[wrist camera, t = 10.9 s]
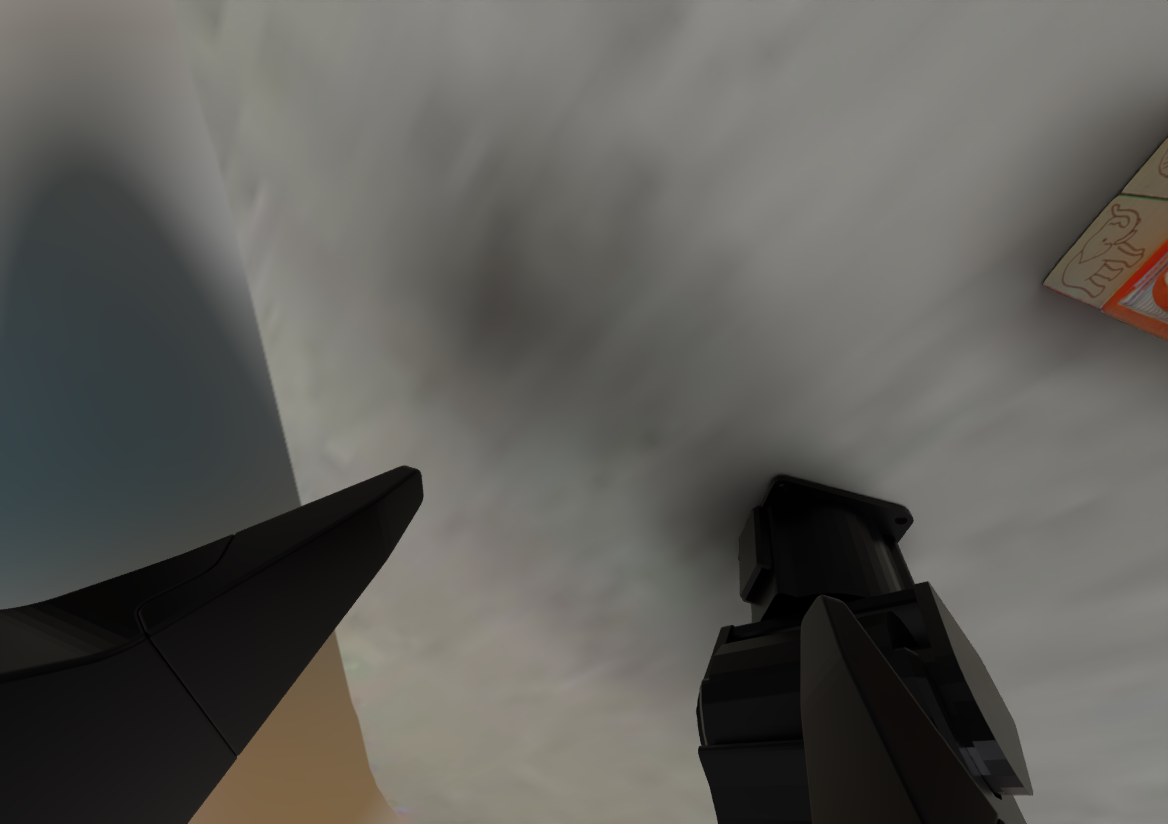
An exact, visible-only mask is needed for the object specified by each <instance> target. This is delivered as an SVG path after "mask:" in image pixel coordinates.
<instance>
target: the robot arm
mask: <svg viewBox="0 0 1168 824" xmlns="http://www.w3.org/2000/svg"><path fill="white" fill-rule="evenodd" d="M781 484H785V485H787V486H786V487H779V485H781ZM422 501H423V484H422V475H421V472H420V471H419V470H418V469H415V468H412V467H409V466H400V467H397V468H395V469H393V470H390V471H388V472H385V473H383V474H380V475H378V476H375V477H373V478H370V479H368V480H365V481H363V482H360V483H358V484H355V485H353V486H350V487H348V488H345V489H343V490H341V491H338V492H336V493H333V494H331V495H328V496H326V497H323V498H321V499H318V500H316V501H313V502H311V503H308V504H306V505H303V506H301V507H298V508H296V509H294V510H291V511H289V512H286V513H284V514H281V515H279V516H276V517H274V518H271V519H269V520H266V521H264V522H261V523H259V524H257V525H254V526H252V527H249V528H247V529H244V530H241V531H239V532H237V533H236V534H235V535H234V534H231V535H229V536H227V537H224V538H221V539H219V540H216V541H214V542H212V543H209V544H206V545H204V546H201V547H199V548H196V549H193V550H191V551H188V552H186V553H184V554H181V555H178V556H175V557H172V558H169V559H167V560H164V561H161V562H158V563H155V564H152V565H150V566H147V567H144V568H141V569H138V570H135V571H133V572H129V573H127V574H124V575H121V576H118V577H115V578H112V579H109V580H106V581H103V582H100V583H97V584H94V585H91V586H88V587H85V588H82V589H79V590H76V591H74V592H70V593H68V594H65V595H62V596H59V597H56V598H53V599H49V600H46V601H42V602H38V603H34V604H30V605H26V606H21V607H16V608H9V609H1V610H0V824H188V822H189V821H190V820H191V818H192V817H193V816H194V814H195V813H196V812H197V810H198V809H199V808H200V807H201V805H202V804H203V802H204V801H205V800H206V799H207V797H208V796H209V795H210V793H211V792H212V791H213V789H214V788H215V787H216V785H217V784H218V783H219V782H220V780H221V779H222V777H223V776H224V775H225V774H226V772H227V771H228V770H229V768H230V767H231V766H232V764H233V763H234V762H235V760H236V759H237V756H238V755H240V753H241V752H242V751H243V749H244V748H245V747H246V745H247V744H248V743H249V741H250V740H251V739H252V737H253V736H254V735H255V734H256V732H257V731H258V730H259V728H260V727H261V726H262V724H263V723H264V722H265V720H266V719H267V718H268V716H269V715H270V714H271V712H272V711H273V710H274V709H275V707H276V706H277V705H278V703H279V702H280V701H281V699H282V698H283V697H284V695H285V694H286V693H287V691H288V690H289V689H290V687H291V686H292V685H293V683H294V682H295V681H296V679H297V678H298V677H299V676H300V674H301V673H302V672H303V670H304V669H305V668H306V666H307V665H308V664H309V662H310V661H311V659H312V658H313V657H314V656H315V654H316V653H317V652H318V650H319V649H320V648H321V647H322V645H323V644H324V643H325V641H326V640H327V639H328V637H329V636H330V635H331V633H332V632H333V631H334V629H335V628H336V627H337V625H338V624H339V623H340V622H341V620H342V619H343V618H344V616H345V615H346V614H347V612H348V611H349V610H350V608H351V607H352V606H353V604H354V603H355V602H356V600H357V599H358V598H359V596H360V595H361V594H362V593H363V591H364V590H365V589H366V587H367V586H368V585H369V583H370V582H371V581H372V579H373V578H374V577H375V575H376V574H377V573H378V571H379V570H380V569H381V567H382V566H383V565H384V563H385V562H386V561H387V559H388V558H389V556H390V555H391V553H392V551H393V550H394V548H395V547H396V545H397V543H398V542H399V540H400V538H401V537H402V535H403V533H404V532H405V530H406V528H407V527H408V525H409V524H410V522H411V520H412V519H413V517H414V515H415V514H416V512H417V510H418V509H419V507H420V505H421V503H422ZM900 516H902V517H903V518H900V519H896V518H897V517H900ZM913 521H914V520H913V517H912V515H911V513H910V511H909V510H908V509H906V508H904V507H900V506H896V505H893V504H889V503H885V502H881V501H878V500H874V499H870V498H866V497H863V496H859V495H855V494H852V493H848V492H844V491H840V490H837V489H833V488H829V487H825V486H822V485H818V484H814V483H810V482H807V481H803V480H799V479H795V478H792V477H788V476H782V475H781V476H777V477H775V478H774V479H773V480H772V482H771V484H770V486H769V488H768V490H767V493H766V495H765V497H764V499H763V501H762V503H761V505H760V506H756V507H754V508H753V509H752V511H751V514H750V516H749V518H748V520H747V522H746V524H745V527H744V529H743V531H742V533H741V535H740V538H739V554H738V559H739V568H740V596H741V598H742V600H743V601H744V602H747V603H750V604H751V612H752V623H750V624H745V625H740V626H736V627H734V626H733V625H730V626H725V627H722V628H721V630H720V633H719V636H718V638H717V641H716V644H715V647H714V650H713V653H712V656H711V659H710V662H709V665H708V668H707V671H706V674H705V677H704V679H703V680H702V683H701V686H700V692H699V696H698V702H697V709H696V714H697V722H698V730H699V736H700V742H701V745H702V746H699V748H698V754H699V758H700V761H701V764H702V766H703V769H704V772H705V775H706V778H707V780H708V783H709V786H710V790H711V795H712V799H713V803H714V807H715V811H716V815H717V821H718V824H1026V821H1025V819H1024V817H1023V815H1022V813H1021V811H1020V809H1019V807H1018V805H1017V803H1016V801H1015V799H1014V797H1013V795H1033V790H1032V786H1031V782H1030V778H1029V774H1028V771H1027V767H1026V763H1025V759H1024V755H1023V752H1022V748H1021V744H1020V740H1019V736H1018V733H1017V729H1016V725H1015V723H1014V720H1013V718H1012V716H1011V715H1010V713H1009V711H1008V709H1007V707H1006V705H1005V703H1004V701H1003V699H1002V698H1001V696H1000V694H999V692H998V690H997V688H996V686H995V684H994V682H993V681H992V679H991V677H990V675H989V673H988V671H987V669H986V667H985V665H984V664H983V662H982V660H981V658H980V657H979V655H978V653H977V652H976V651H975V649H974V648H973V646H972V645H971V643H970V642H969V640H968V639H967V637H966V636H965V634H964V633H963V631H962V630H961V628H960V627H959V625H958V624H957V623H956V621H955V620H954V618H953V617H952V615H951V614H950V612H949V611H948V609H947V608H946V606H945V605H944V603H943V602H942V600H941V599H940V597H939V596H938V595H937V593H936V592H935V590H934V589H933V587H932V586H931V584H930V583H929V582H928V581H927V582H923V583H918V584H915V583H914V581H913V578H912V576H911V574H910V571H909V569H908V567H907V564H906V562H905V560H904V557H903V555H902V553H901V550H900V548H899V546H898V542H899V541H900V539H901V538H902V537H903V535H904V534H905V533H906V531H907V530H908V529H909V527H910V526H911V525H912V523H913Z"/></svg>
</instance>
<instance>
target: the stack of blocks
mask: <svg viewBox="0 0 1168 824" xmlns="http://www.w3.org/2000/svg"><path fill="white" fill-rule="evenodd" d="M1043 286H1046V287H1048V288H1050V289H1053V290H1055V291H1057V292H1059V293H1061V294H1063V295H1065V296H1067V297H1070V298H1073V299H1076V300H1079V301H1081V302H1083V303H1086V304H1088V305H1091V306H1093V307H1096V308H1098V309H1101V311H1100V312H1102V313H1104V314H1106V315H1109V316H1111V317H1113V318H1115V319H1117V320H1119V321H1122V322H1124V323H1126V324H1129V325H1131V326H1133V327H1136V328H1138V329H1140V330H1143V331H1145V332H1147V333H1150V334H1152V335H1154V336H1157V337H1159V338H1162V339H1164V340H1166V341H1168V138H1167V139H1166V140H1165V141H1164V142H1163V144H1162V145H1161V146H1160V147H1159V148H1158V149H1157V151H1156V152H1155V153H1154V154H1153V155H1152V156H1151V158H1150V159H1149V160H1148V161H1147V162H1146V163H1145V165H1144V166H1143V167H1142V168H1141V169H1140V170H1139V172H1138V173H1137V174H1136V175H1135V176H1134V177H1133V179H1132V180H1131V181H1130V182H1129V183H1128V184H1127V185H1126V187H1125V188H1124V190H1123V191H1122V192H1121V194H1120V195H1119V196H1117V197H1116V198H1114V199H1113V200H1112V201H1111V202H1110V203H1109V205H1108V206H1107V207H1106V208H1105V209H1104V210H1103V211H1102V213H1101V214H1100V215H1099V216H1098V217H1097V218H1096V220H1095V221H1094V222H1093V223H1092V224H1091V225H1090V227H1089V228H1088V229H1087V230H1086V231H1085V232H1084V234H1083V235H1082V236H1081V237H1080V238H1079V240H1078V241H1077V242H1076V243H1075V244H1074V246H1073V247H1072V248H1071V249H1070V250H1069V251H1068V252H1067V253H1066V255H1065V256H1064V257H1063V258H1062V259H1061V261H1060V262H1059V263H1058V264H1057V266H1056V267H1055V268H1054V269H1053V271H1052V272H1051V273H1050V275H1049V276H1048V277H1047V279H1046V280H1045V282H1044V283H1043Z"/></svg>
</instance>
